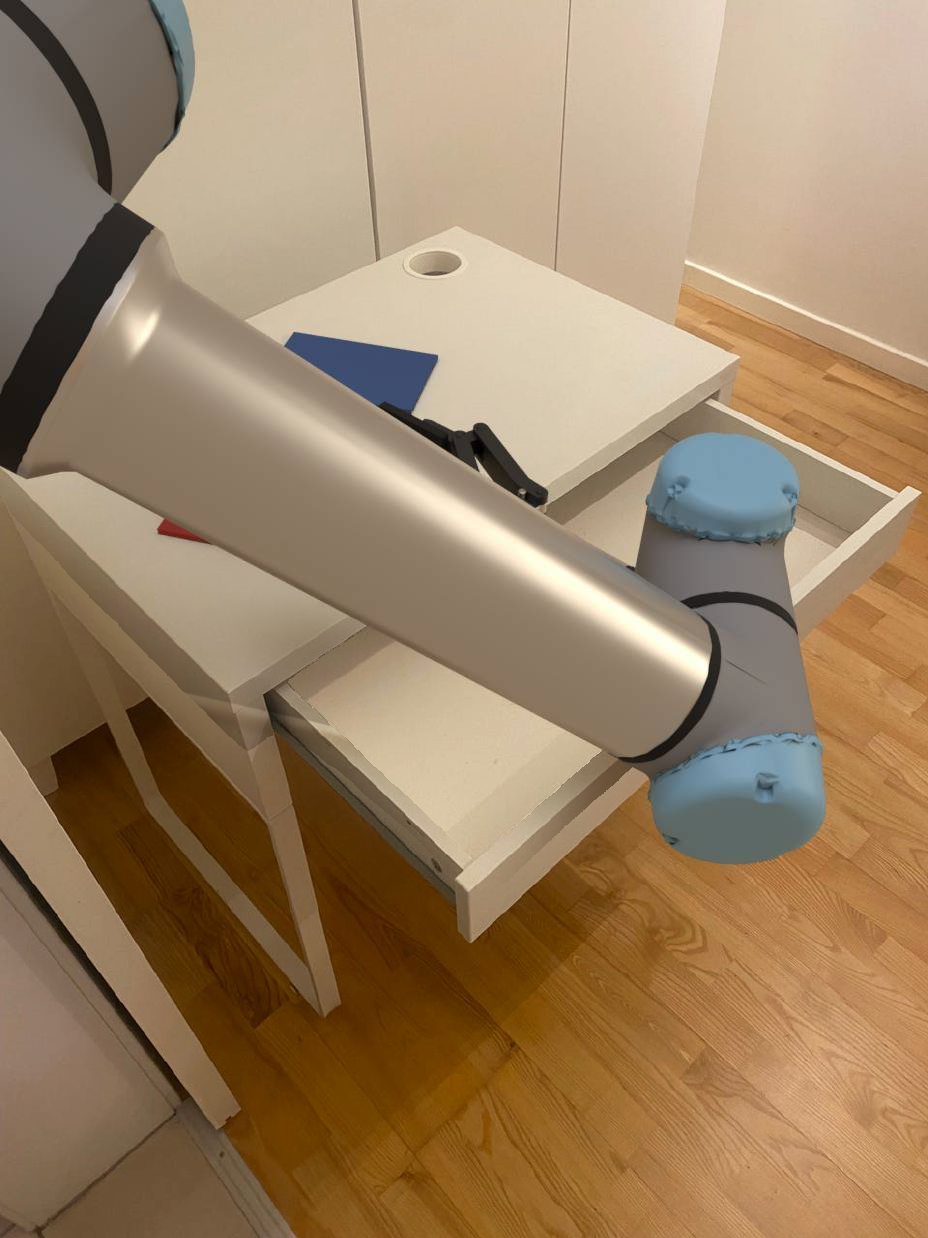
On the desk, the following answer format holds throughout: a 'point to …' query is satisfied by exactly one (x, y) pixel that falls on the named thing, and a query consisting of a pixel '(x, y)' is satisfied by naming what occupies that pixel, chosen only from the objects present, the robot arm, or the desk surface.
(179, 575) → the desk surface
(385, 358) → the blue mat
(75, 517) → the desk surface
